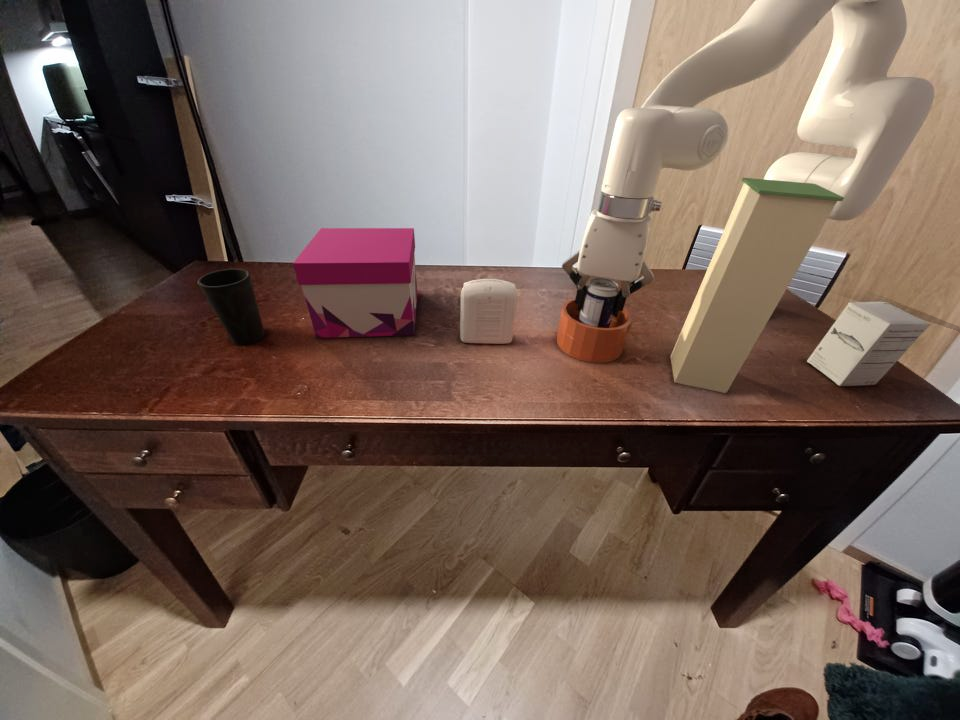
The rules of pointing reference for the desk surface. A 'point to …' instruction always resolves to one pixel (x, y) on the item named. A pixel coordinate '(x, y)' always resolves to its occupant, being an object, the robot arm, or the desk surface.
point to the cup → (234, 304)
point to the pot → (592, 335)
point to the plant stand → (744, 284)
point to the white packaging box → (866, 342)
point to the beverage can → (599, 303)
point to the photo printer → (487, 311)
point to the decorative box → (360, 281)
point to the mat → (791, 189)
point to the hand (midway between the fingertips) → (597, 309)
